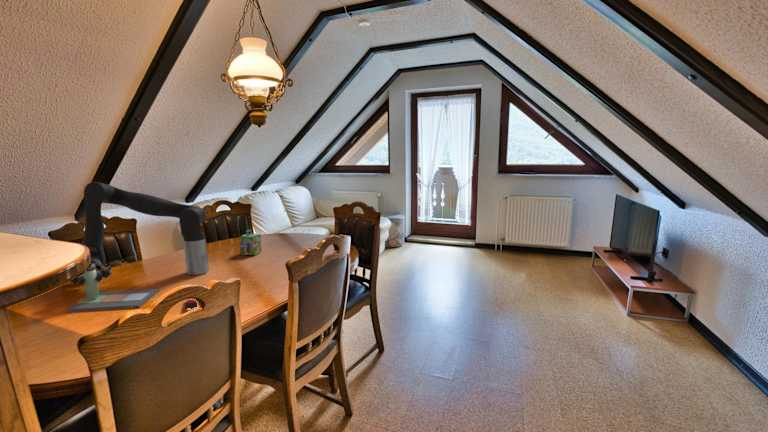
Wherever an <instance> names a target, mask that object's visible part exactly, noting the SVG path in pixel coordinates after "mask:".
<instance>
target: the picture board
mask: <svg viewBox="0 0 768 432" xmlns="http://www.w3.org/2000/svg"><path fill="white" fill-rule="evenodd" d="M159 292H160V291H159V288H150V289H147V288H146V289H129V290H112V291H110V290H108V291H99V294H100V295H99V296H98V297H95V298H87V297H85V298H84V299H82V300H80V301H79V302H77V303H75V304H74V305H72V306H71V307H69V308H67V312H68V313H76V312H77V313H78V312H79V313H81V312H92V311H93V312H95V311H107V310H108V311H109V310H110V311H111V310H112V309H113V310H126V309H125V308H129V309H137V308H136V307H140V308H141V307H143V305H144V304H146V303H147V302H149V300H150V299H151V298H153V297H154V296H155V295H157V294H158V293H159ZM131 307H133V308H131Z"/></svg>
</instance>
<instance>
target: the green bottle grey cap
mask: <svg viewBox="0 0 768 432" xmlns="http://www.w3.org/2000/svg"><path fill="white" fill-rule="evenodd" d="M83 278H84V285H83V286H84V290H85V291H84V292H85V296H86V297H85V298H95V297H98V296H99V295H100V294H99V292H100V287H99V282H98V280H97V273H96V267H95V264H91V266H90V267H89V268H88V270H87V271H86V272H85V273H84V274H83Z"/></svg>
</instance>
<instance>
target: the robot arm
mask: <svg viewBox="0 0 768 432" xmlns="http://www.w3.org/2000/svg"><path fill="white" fill-rule="evenodd" d="M83 200H84V217H85V221H84V222H85V223H84V224H85V225H84V234H83V241H82V244H83V245H82V246H84V245H86V246H85V247H87V248H88V247H89V248H93V249H94V250H96V251H90V252H91V257H92V262H91V264H95V267H96V273H97V280H98V283H100V282H101V281H103V278H104V279H107V278H109V277H110V276H111V275H112V274H113V273H112V272H113V271H112V267H108V268H105V269H104V268H103V266H104V265H105V264H106V261H107V259H106V255H105V251H104V237H105V224H104V220H103V215H102V211H101V210H102V204H109V205H111V204H112V205H117V206H122V207H125V208H127V209H129V210H132V211H133V212H138V213H141V214H144V215H149V216H154V217H171V218H177V219H179V226H180V233H181V236H182V238H183V245H184V255H185V256H184V257H185V267H186V270H185V271H186V275H189V276H199V275H204V274H206V273H208V272H209V270H210V263H209V255H208V253H209V252H207V247H206V235H205V232H203V231H202V226H201V225H202V223H203V222H204V221H206V218H207V213H206V212H205V210H204V209H203V208H202V207H199V206H196V205H190V204H182V203H178V202H175V201H172V200H168V199H166V198H161V197H157V196H154V195H150V194H147V193H140V192H133V191H127V190H124V189H121V188H118V187H115V186H114V185H113V186H112V185H110V184H107V183H105V182H104V183H103V182H100V181H92V182H89V183H88V184H86V185H85V187H84V190H83ZM69 282H71V284H77V283H78V284H79V285H82V286H85V285H84V278H83V274H82V275H80V276H78V277H76V278H74V279H73V280H71V281H69Z"/></svg>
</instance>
